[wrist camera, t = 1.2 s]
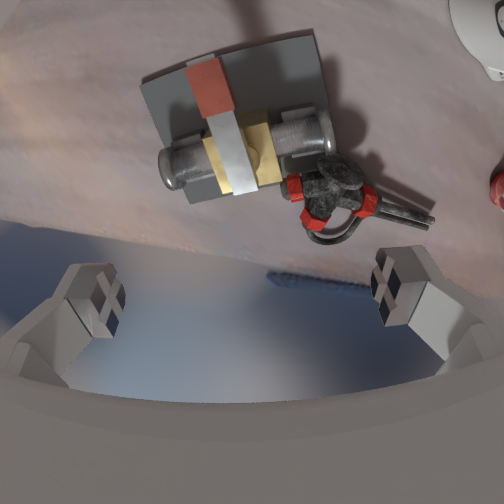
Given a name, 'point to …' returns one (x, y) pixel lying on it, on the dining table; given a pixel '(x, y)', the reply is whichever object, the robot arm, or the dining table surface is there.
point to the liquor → (498, 190)
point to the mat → (244, 99)
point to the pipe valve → (250, 146)
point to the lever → (223, 120)
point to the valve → (342, 197)
